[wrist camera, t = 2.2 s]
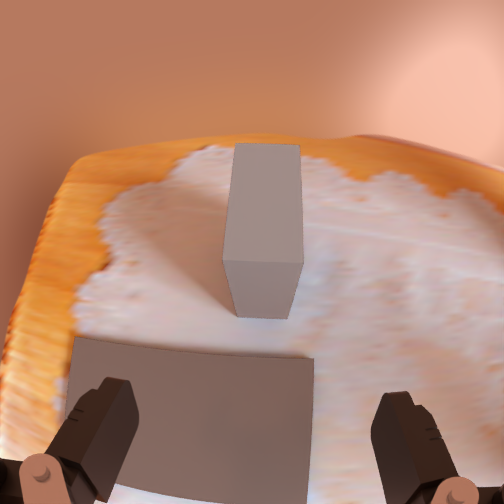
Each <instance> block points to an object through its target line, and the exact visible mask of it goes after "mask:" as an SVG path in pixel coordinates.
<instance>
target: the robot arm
mask: <svg viewBox="0 0 504 504" xmlns="http://www.w3.org/2000/svg"><path fill="white" fill-rule="evenodd" d="M138 425H139V410H138V407H137V403H136V400H135V396H134V393H133V389H132V385H131V383H130V381H129V380H124V379H118V378H113V377H106V378H105V379H104V380H103V382H102V383H101V385H100V386H99V388H98V390H97V389H90V390H89V391H88V392H86V393H85V394H84V395H82V396H81V397H80V398H79V400H78V401H77V403H76V404H75V406H74V407H73V410H71V412H70V414H69V415H68V418H67V419H66V420H65V421H64V423H63V425H62V426H61V428H60V429H59V431H58V432H57V434H56V436H55V437H54V439H53V441H52V442H51V444H50V445H49V447H48V449H47V450H46V452H45V453H44V454H34V455H31V456H29V457H28V458H26V459H25V460H24V461H15V460H8V459H2V458H0V504H94V501H95V500H98V501H101V502H105V503H107V502H108V499H109V497H110V494H111V492H112V489H113V487H114V484H115V482H116V479H117V477H118V474H119V472H120V470H121V467H122V465H123V462H124V460H125V457H126V455H127V453H128V450H129V448H130V445H131V443H132V441H133V438H134V436H135V434H136V431H137V429H138ZM441 437H442V436H441V434H440V432H439V429H437V425H436V423H435V421H434V419H433V416H432V415H431V414H430V413H429V412H428V411H427V410H426V409H425V408H424V407H423V406H422V405H414V403H413V400H412V398H411V396H410V394H409V393H408V392H407V391H402V392H391V393H385V394H384V395H383V396H382V399H381V401H380V404H379V407H378V410H377V412H376V415H375V418H374V420H373V423H372V426H371V441H372V445H373V449H374V453H375V457H376V461H377V465H378V469H379V473H380V477H381V481H382V485H383V490H384V494H385V498H386V503H387V504H504V484H503V485H502V486H501V487H476V486H475V484H474V483H473V482H472V481H470V480H468V479H466V478H463V477H460V476H459V475H458V473H457V471H456V468H455V466H454V463H453V461H452V459H451V456H450V454H449V452H448V449H447V447H446V445H445V443H444V440H443V439H442V438H441Z"/></svg>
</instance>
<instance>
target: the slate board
mask: <svg viewBox="0 0 504 504" xmlns="http://www.w3.org/2000/svg"><path fill="white" fill-rule="evenodd" d="M106 377H113V378H118V379H124V380H129V381H130V383H131V385H132V389H133V393H134V396H135V400H136V403H137V407H138V410H139V425H138V429H137V431H136V434H135V436H134V438H133V441H132V443H131V445H130V448H129V450H128V453H127V455H126V457H125V460H124V462H123V465H122V467H121V470H120V472H119V474H118V477H117V479H116V482H115V483H116V484H120V485H124V486H128V487H131V488H136V489H140V490H144V491H148V492H153V493H158V494H163V495H168V496H173V497H179V498H185V499H192V500H198V501H206V502H214V503H224V504H307V492H308V480H309V466H310V451H311V434H312V412H313V383H314V359H306V358H267V357H245V356H229V355H215V354H203V353H191V352H181V351H172V350H163V349H154V348H146V347H139V346H131V345H124V344H117V343H111V342H105V341H98V340H93V339H87V338H81V337H76V336H75V339H74V346H73V352H72V359H71V366H70V373H69V382H68V390H67V400H66V412H65V420H66V419H67V418H68V415H69V414H70V412H71V410H73V407H74V406H75V404H76V403H77V401H78V400H79V398H80V397H81V396H82V395H84V394H85V393H86V392H88V391H89V390H90V389H97V390H98V388H99V386H100V385H101V383H102V382H103V380H104V379H105V378H106Z"/></svg>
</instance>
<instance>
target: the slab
mask: <svg viewBox="0 0 504 504" xmlns="http://www.w3.org/2000/svg"><path fill="white" fill-rule="evenodd" d="M222 261H223V265H224V269H225V273H226V277H227V280H228V284H229V288H230V292H231V295H232V299H233V303H234V306H235V310H236V314H237V317H244V318H266V319H288V315H289V312H290V308H291V305H292V302H293V298H294V295H295V291H296V288H297V285H298V281H299V278H300V274H301V270H302V267H303V263H304V257H303V211H302V182H301V160H300V145H287V144H258V143H235V151H234V159H233V167H232V176H231V184H230V193H229V201H228V210H227V219H226V228H225V237H224V247H223V256H222Z"/></svg>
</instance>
